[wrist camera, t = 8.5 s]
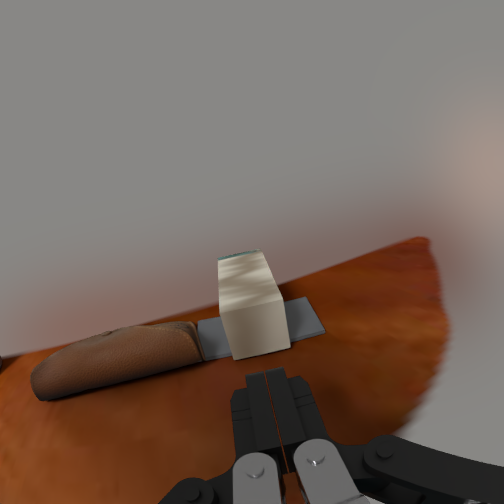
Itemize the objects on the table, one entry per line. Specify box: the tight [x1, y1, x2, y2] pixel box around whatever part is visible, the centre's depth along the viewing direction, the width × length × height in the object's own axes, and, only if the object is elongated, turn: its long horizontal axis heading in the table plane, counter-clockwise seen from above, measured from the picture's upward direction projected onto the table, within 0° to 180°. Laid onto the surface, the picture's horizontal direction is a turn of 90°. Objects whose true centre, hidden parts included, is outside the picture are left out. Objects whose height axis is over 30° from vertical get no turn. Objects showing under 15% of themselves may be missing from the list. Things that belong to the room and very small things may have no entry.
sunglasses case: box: [30, 321, 206, 401], centre depth 24 cm, size 18×7×7 cm, turn 108°
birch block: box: [218, 249, 291, 360], centre depth 29 cm, size 5×5×12 cm
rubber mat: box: [197, 297, 325, 362], centre depth 28 cm, size 12×6×1 cm, turn 97°
